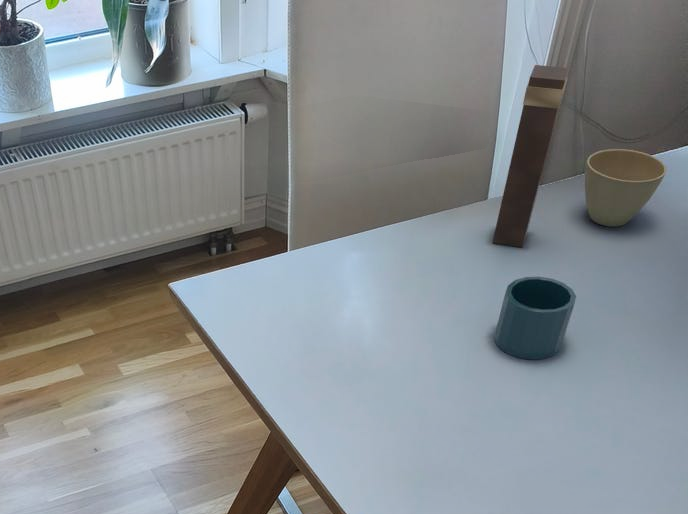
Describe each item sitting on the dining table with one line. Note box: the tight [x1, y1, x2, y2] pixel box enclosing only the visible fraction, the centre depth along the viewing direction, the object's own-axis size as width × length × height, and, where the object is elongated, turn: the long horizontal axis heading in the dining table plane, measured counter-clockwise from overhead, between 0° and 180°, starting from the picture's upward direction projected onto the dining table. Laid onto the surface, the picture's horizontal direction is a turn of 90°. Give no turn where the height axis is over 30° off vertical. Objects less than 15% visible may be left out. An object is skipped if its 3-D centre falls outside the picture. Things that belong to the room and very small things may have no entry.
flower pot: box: [584, 148, 667, 228], centre depth 119 cm, size 10×10×7 cm
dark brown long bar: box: [492, 64, 570, 248], centre depth 112 cm, size 4×4×20 cm
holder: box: [494, 276, 577, 360], centre depth 102 cm, size 8×8×6 cm
